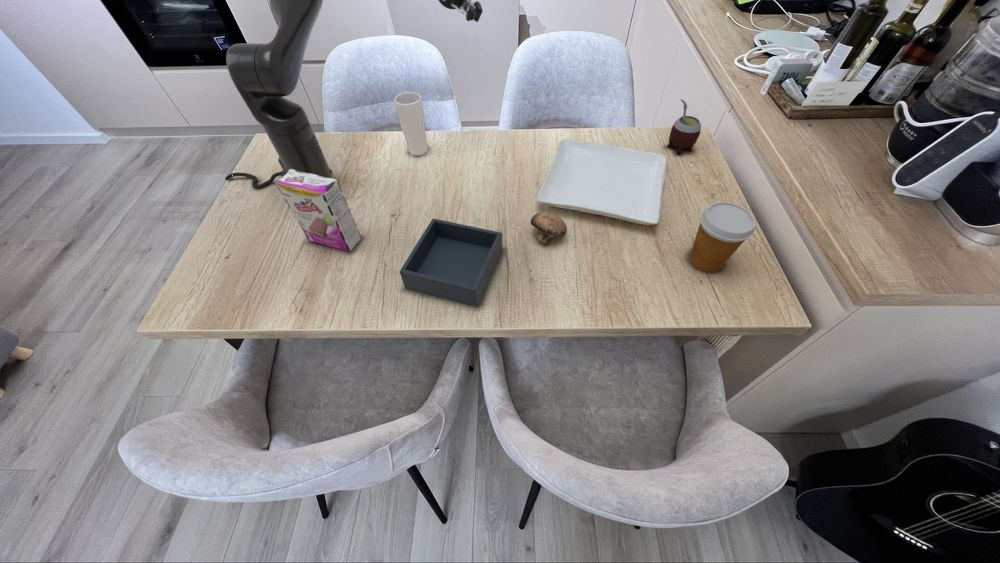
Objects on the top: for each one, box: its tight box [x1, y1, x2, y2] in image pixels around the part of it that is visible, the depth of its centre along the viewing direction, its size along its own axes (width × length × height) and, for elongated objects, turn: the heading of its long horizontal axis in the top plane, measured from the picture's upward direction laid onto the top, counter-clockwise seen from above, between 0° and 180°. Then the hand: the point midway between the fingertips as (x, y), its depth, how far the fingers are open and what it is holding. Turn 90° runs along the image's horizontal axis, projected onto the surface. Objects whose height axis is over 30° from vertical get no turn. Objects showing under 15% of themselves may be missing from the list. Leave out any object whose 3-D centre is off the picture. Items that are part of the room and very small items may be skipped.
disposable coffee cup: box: [689, 201, 757, 273], centre depth 77 cm, size 10×10×12 cm
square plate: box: [535, 138, 668, 226], centre depth 96 cm, size 27×27×4 cm
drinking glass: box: [393, 91, 429, 157], centre depth 104 cm, size 7×7×15 cm
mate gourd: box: [666, 98, 702, 156], centre depth 101 cm, size 8×8×15 cm
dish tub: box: [399, 218, 504, 308], centre depth 80 cm, size 16×16×5 cm
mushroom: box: [530, 211, 568, 245], centre depth 86 cm, size 8×8×6 cm
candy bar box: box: [275, 169, 362, 253], centre depth 82 cm, size 11×5×16 cm, turn 71°
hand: (451, 4), depth 83 cm, fingers open, 8 cm apart
